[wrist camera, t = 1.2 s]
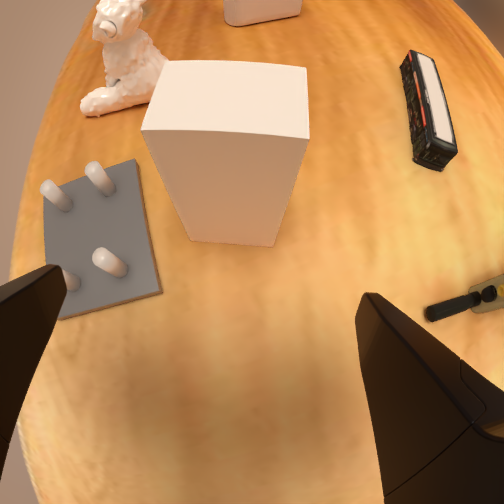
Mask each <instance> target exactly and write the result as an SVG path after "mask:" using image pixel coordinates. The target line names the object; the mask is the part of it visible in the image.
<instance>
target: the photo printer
mask: <svg viewBox="0 0 504 504" xmlns="http://www.w3.org/2000/svg"><path fill="white" fill-rule="evenodd" d="M223 5H224V19H225V22H226V23H227V24H229V25H232V26H243V25H248V24H253V23H258V22H264V21H269V20H274V19H280V18H285V17H291V16H295V15H298V14H299V13H300V11H301V5H302V0H223Z"/></svg>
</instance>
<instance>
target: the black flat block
mask: <svg viewBox="0 0 504 504" xmlns="http://www.w3.org/2000/svg"><path fill="white" fill-rule="evenodd" d="M399 68H400V69H401V74H402V80H403V81H402V82H403V84H404V86H403V87H404V91H405V96H406V101H407V109H408V116H409V124H410V126H409V127H410V131H411V141H412V144H413V155H414V158H413V159H412V161H413V162H415V163H417V164H419V165H421V166H423V167H425V168H428V169H431V170H435V171H439V172H442V171H443V170H444V169H443V168H444V167H445V166H446V165H447V164H448V163H449V162H450V160H451V159H452V158H453V157H454V156H455V155H456V154H457V153H458V149H457V144H456V139H455V134H454V130H453V125H452V121H451V117H450V112H449V109H448V105H447V101H446V97H445V94H444V90H443V87H442V83H441V80H440V77H439V74H438V71H437V68H436V65H435V62H434V60H433V59H432V58H430V57H428V56H426V55H424V54H422V53H419V52H416V51H413V50H409V52H408V54H407V56H406V58H405V59H404V61H403V63H402V65H401V66H400V67H399Z"/></svg>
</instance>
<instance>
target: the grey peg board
mask: <svg viewBox="0 0 504 504" xmlns="http://www.w3.org/2000/svg"><path fill="white" fill-rule="evenodd" d="M85 174H86V176H84V177H81V178H79V179H76V180H73V181H71V182H68V183H66V184H64V185H61V186H59V187H57V186H56V185H55V184H54V183H53V182H52V181H51V180H49V179H48V180H45V181H44V182H43V183H42V185H41V187H40V192H41V193H42V194H43V195H44V241H45V257H46V265H48V264H54V265H59V266H60V267H61V268H62V271H63V275H64V278H65V282H66V286H67V294H66V297H65V300H64V302H63V305H62V308H61V310H60V313H59V315H58V318H57V320H63V319H67V318H71V317H75V316H78V315H82V314H86V313H90V312H94V311H97V310H101V309H105V308H109V307H112V306H116V305H120V304H124V303H127V302H131V301H135V300H138V299H142V298H146V297H149V296H153V295H157V294H160V293H163V292H162V288H161V284H160V279H159V275H158V270H157V266H156V261H155V257H154V252H153V247H152V242H151V237H150V232H149V227H148V222H147V216H146V210H145V205H144V199H143V193H142V187H141V180H140V174H139V167H138V163H137V162H136V160H135V159H132V160H129V161H126V162H123V163H120V164H117V165H114V166H111V167H108V168H106V169H103V168H102V167H101V165H100V164H99V163H98V162H97V161H92V162H90V163H88V164H87V166H86V167H85Z"/></svg>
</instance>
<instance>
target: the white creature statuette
mask: <svg viewBox="0 0 504 504" xmlns="http://www.w3.org/2000/svg"><path fill="white" fill-rule="evenodd" d="M146 1H147V0H101V1H100V2H99V4H98V5H97V6H96V9H97V11H98V12H97V14H96V18H95V20H94V22H93V36H92V38H93V40H95V41H100V42H101V43H104V47H103V51H102V55H103V58H104V61H103V62H104V66H105V68H106V69H105V71H104V72H105V73H106V74H107V75H106V77H105V80H106V81H107V82H106V87H100V88H97V89H95V90H94V91H93V92H90V93H88V95H87V96H85V97H84V98H83V99H82V100H81V104H80V109H81V112H82V114H83V115H85V116H97V117H100V115H102V114H106V113H110V112H113V111H117V110H121V109H124V108H128V107H132V106H133V105H138V104H143V103H148V102H150V101H151V98H152V95H153V92H154V90H155V87H156V84H157V82H158V79H159V77H160V74H161V72H162V69H163V67H164V64H165V62H166V61H169V60H168V59H167V58H166V57H164V56H162V55H161V53H160V50H157V49H156V46H153V41H152V40H151V38H150V37H149V36H148V34H147V32H144V31H143V30H141V29H137V28H138V26H139V23H140V22H141V20H142V15H143V10H142V7H141V5H142V4H143V3H145V2H146Z"/></svg>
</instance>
